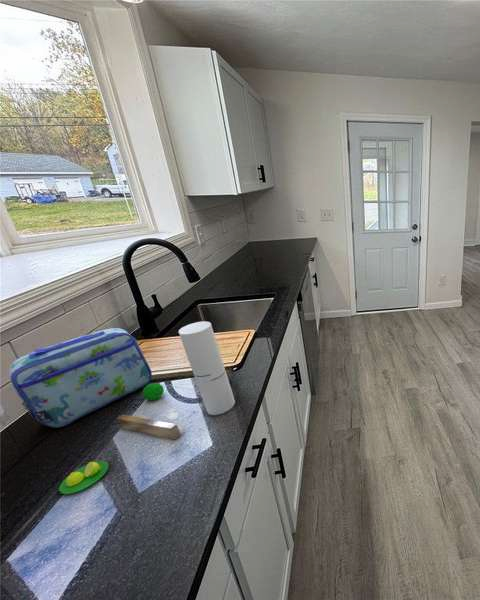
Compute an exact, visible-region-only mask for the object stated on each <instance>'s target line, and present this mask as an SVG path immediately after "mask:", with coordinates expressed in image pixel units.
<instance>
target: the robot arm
mask: <svg viewBox="0 0 480 600" xmlns="http://www.w3.org/2000/svg"><path fill="white" fill-rule="evenodd" d="M9 418H10V416H9V415H8V414H6V413H5V411H4V409H3V406H2V405H1V404H0V426H1V425H2V424H3V423H5V422H6V421H7V420H9Z"/></svg>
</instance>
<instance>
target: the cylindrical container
mask: <svg viewBox="0 0 480 600" xmlns="http://www.w3.org/2000/svg"><path fill="white" fill-rule="evenodd" d="M178 334H179V338H180V340H181V343H182V346H183V350H184V352H185V355H186V357H187V360H188V363H189V365H190V368H191V371H192V374H193V376H194V380H195V382H196V385H197V388H198V391H199V393H200V397H201V399H202V402H203V405H204V408H205V410H206V413H207V414H208V415H209V416H218V415H223V414H224V413H227V412H228V411H230V410H231V409H232V408H233V407H234V406H235V404H236V400H235V397H234V393H233V390H232V387H231V384H230V381H229V378H228V374H227V371H226V368H225V364H224V362H223V361H224V360H223V358H222V355H221V351H220V348H219V344H218V341H217V338H216V336H215V333H214V328H213V326H212V323H211V322H210V321H195V322H193V323H189V324H187V325H184V326H183V327H181V328H180V329H179V330H178Z"/></svg>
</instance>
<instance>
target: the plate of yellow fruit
mask: <svg viewBox="0 0 480 600" xmlns="http://www.w3.org/2000/svg"><path fill="white" fill-rule="evenodd" d="M109 466H110V465H109V462H107V461H104V460H98V461H90V462H88V463H87V464H85V465H83V466H81V467H80V468H78V469H76V470H74V471H72V472H71V473H70V474H69V475H68V476H66V477H65V478H64V480H62V482H61V483H60V485H59V487H58V490H59V491H58V492H60V493H61V494H64V495H70V494H73V493H77V492H80V491H83V490H85V489H86V488H88V487H90V486H92V485H93V484H95V483H96V482H97V481H98V480H100V479H101V478H102V477H103V476H104V475H105V474H106V473H107V471H108V469H109Z"/></svg>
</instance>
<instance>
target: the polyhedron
mask: <svg viewBox="0 0 480 600" xmlns="http://www.w3.org/2000/svg"><path fill="white" fill-rule="evenodd" d="M164 389H165V388H164V386H163V385H162V384H160V383H157V382H155V383H154V382H153V383H152V382H151V383H148V384H147V385H145V386H144V387H143V389H142V391H141V392H142V397H143V398H144V399H145V400H146V401H156V400H158V399H160V398H161V397H162V396H163V395H164V392H165V390H164Z"/></svg>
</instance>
